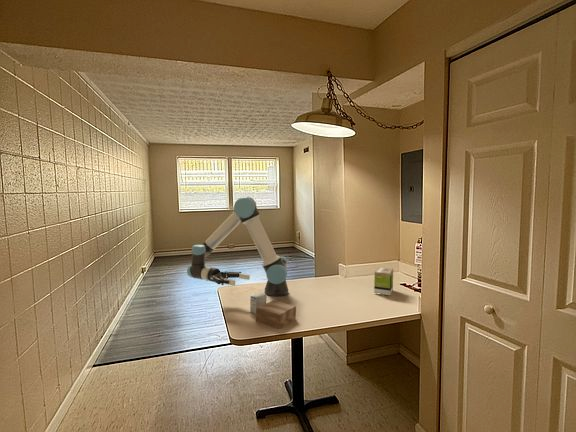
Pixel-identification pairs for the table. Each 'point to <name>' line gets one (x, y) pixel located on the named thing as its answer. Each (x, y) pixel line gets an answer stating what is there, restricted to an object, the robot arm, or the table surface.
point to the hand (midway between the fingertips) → (242, 280)
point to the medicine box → (257, 301)
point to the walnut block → (275, 314)
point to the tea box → (383, 281)
